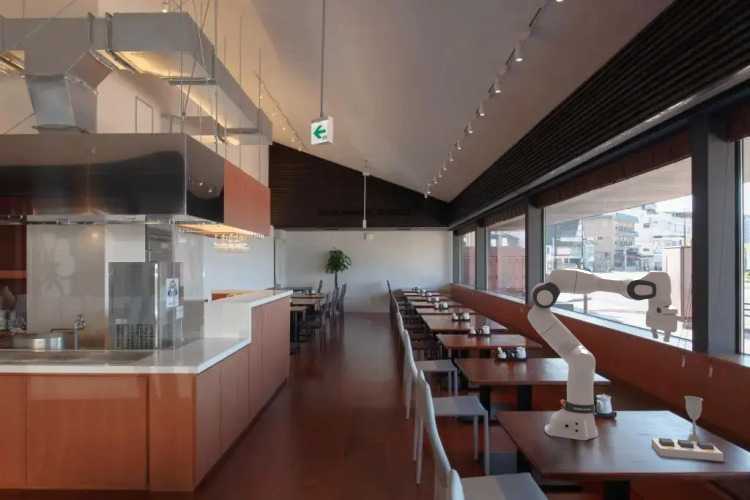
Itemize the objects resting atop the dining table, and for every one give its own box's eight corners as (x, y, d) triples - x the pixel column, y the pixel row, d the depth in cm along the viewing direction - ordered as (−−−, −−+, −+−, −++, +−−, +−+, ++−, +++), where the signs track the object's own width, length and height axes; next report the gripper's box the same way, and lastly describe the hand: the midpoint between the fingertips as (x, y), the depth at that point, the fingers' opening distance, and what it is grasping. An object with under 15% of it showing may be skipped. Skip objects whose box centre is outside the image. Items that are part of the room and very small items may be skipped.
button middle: (681, 449, 200) (681, 443, 200) (677, 445, 205) (677, 439, 205) (693, 450, 199) (693, 444, 199) (689, 446, 203) (689, 440, 203)
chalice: (706, 443, 213) (706, 400, 213) (689, 442, 214) (688, 399, 215) (699, 437, 220) (698, 396, 220) (682, 436, 221) (681, 395, 222)
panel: (660, 455, 199) (660, 447, 199) (651, 445, 210) (651, 437, 210) (723, 461, 193) (723, 452, 193) (710, 450, 205) (710, 442, 205)
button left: (662, 447, 202) (662, 441, 202) (659, 444, 206) (658, 437, 206) (674, 448, 201) (674, 442, 201) (670, 444, 205) (670, 438, 205)
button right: (701, 451, 198) (701, 444, 199) (697, 447, 203) (697, 440, 203) (713, 452, 197) (713, 445, 197) (709, 448, 202) (709, 441, 202)
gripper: (641, 306, 227) (642, 336, 226) (664, 310, 206) (665, 343, 206) (655, 306, 226) (656, 336, 226) (680, 310, 206) (681, 343, 205)
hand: (660, 340), depth 216 cm, fingers open, 8 cm apart
